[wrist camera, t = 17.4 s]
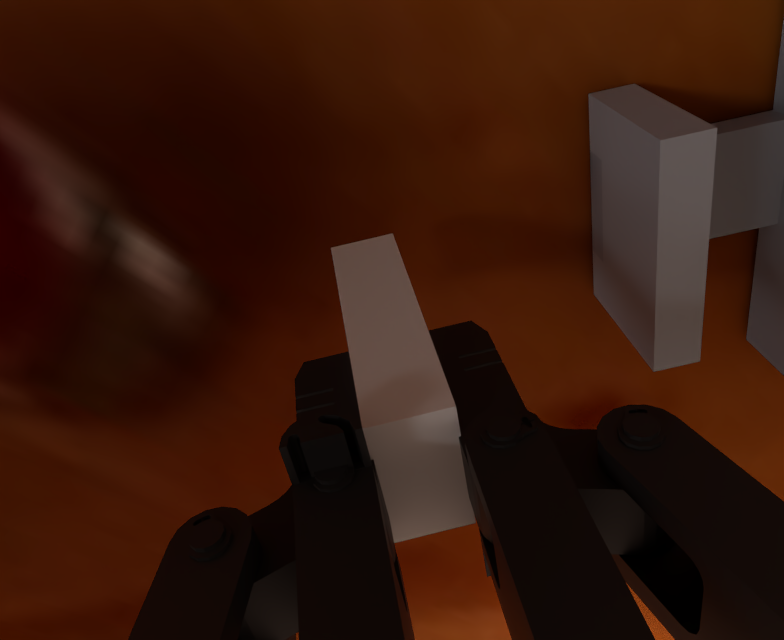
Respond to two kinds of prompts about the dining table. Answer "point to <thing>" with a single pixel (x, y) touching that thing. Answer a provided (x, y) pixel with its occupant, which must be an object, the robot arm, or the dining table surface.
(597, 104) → the tray
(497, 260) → the dining table surface
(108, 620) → the dining table surface
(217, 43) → the dining table surface
